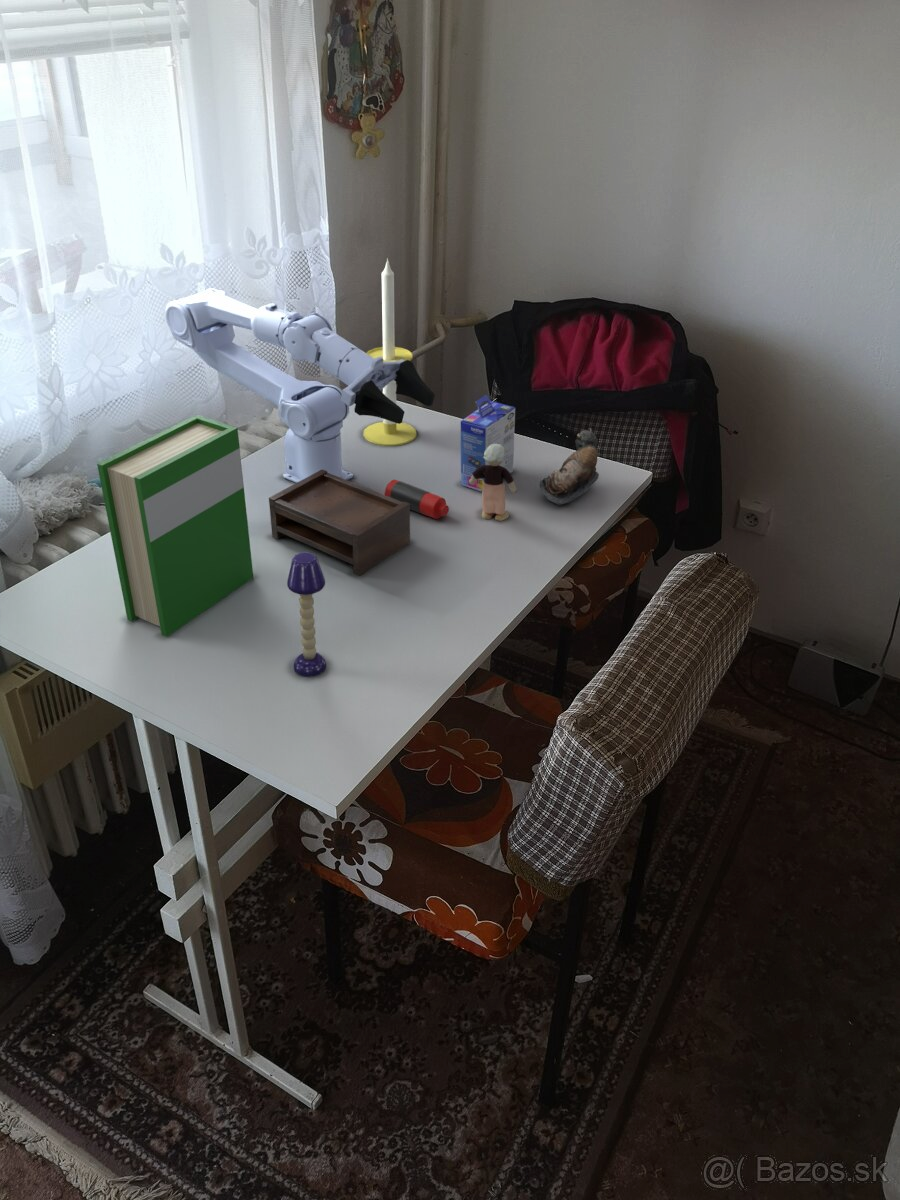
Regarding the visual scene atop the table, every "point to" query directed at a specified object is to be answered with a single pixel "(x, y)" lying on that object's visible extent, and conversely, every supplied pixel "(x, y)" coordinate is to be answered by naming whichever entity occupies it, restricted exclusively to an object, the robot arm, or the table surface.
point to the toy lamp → (307, 610)
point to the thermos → (417, 499)
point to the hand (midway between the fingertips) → (417, 409)
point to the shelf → (341, 519)
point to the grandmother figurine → (494, 483)
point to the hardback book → (178, 521)
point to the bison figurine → (573, 472)
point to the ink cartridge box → (486, 438)
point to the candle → (388, 430)
